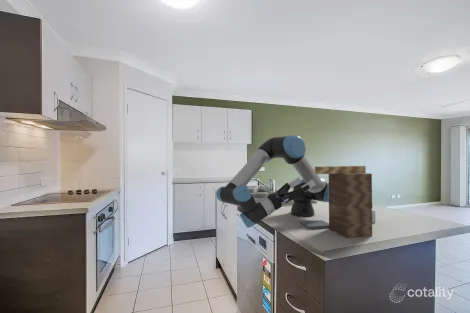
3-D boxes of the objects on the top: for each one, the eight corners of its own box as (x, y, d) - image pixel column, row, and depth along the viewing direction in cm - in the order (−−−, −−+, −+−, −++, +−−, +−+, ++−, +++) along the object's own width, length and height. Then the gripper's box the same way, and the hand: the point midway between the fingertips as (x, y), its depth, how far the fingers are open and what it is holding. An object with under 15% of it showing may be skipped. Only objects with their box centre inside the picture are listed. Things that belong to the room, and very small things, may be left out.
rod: (318, 174, 113) (318, 166, 113) (314, 173, 116) (314, 166, 116) (365, 172, 118) (365, 166, 118) (360, 172, 121) (360, 165, 121)
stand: (346, 238, 110) (345, 174, 110) (329, 229, 124) (328, 172, 124) (372, 235, 113) (371, 173, 113) (352, 227, 126) (351, 171, 126)
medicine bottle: (375, 223, 134) (375, 202, 134) (362, 222, 135) (361, 201, 135) (370, 219, 141) (370, 199, 141) (358, 219, 142) (357, 199, 142)
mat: (308, 229, 123) (308, 226, 123) (299, 224, 133) (299, 221, 133) (332, 227, 125) (332, 225, 125) (322, 222, 135) (322, 220, 135)
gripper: (266, 205, 123) (298, 184, 126) (285, 217, 98) (324, 190, 102) (259, 193, 122) (292, 172, 126) (276, 202, 98) (316, 176, 101)
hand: (306, 180), depth 114 cm, fingers open, 13 cm apart
